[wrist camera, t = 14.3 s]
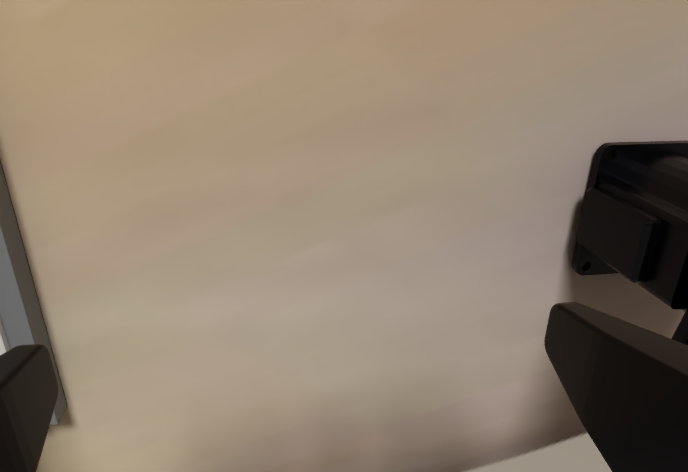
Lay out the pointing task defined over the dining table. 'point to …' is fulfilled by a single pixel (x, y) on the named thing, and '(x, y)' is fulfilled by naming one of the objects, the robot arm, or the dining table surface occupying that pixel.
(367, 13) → the dining table surface
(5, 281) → the rail board
